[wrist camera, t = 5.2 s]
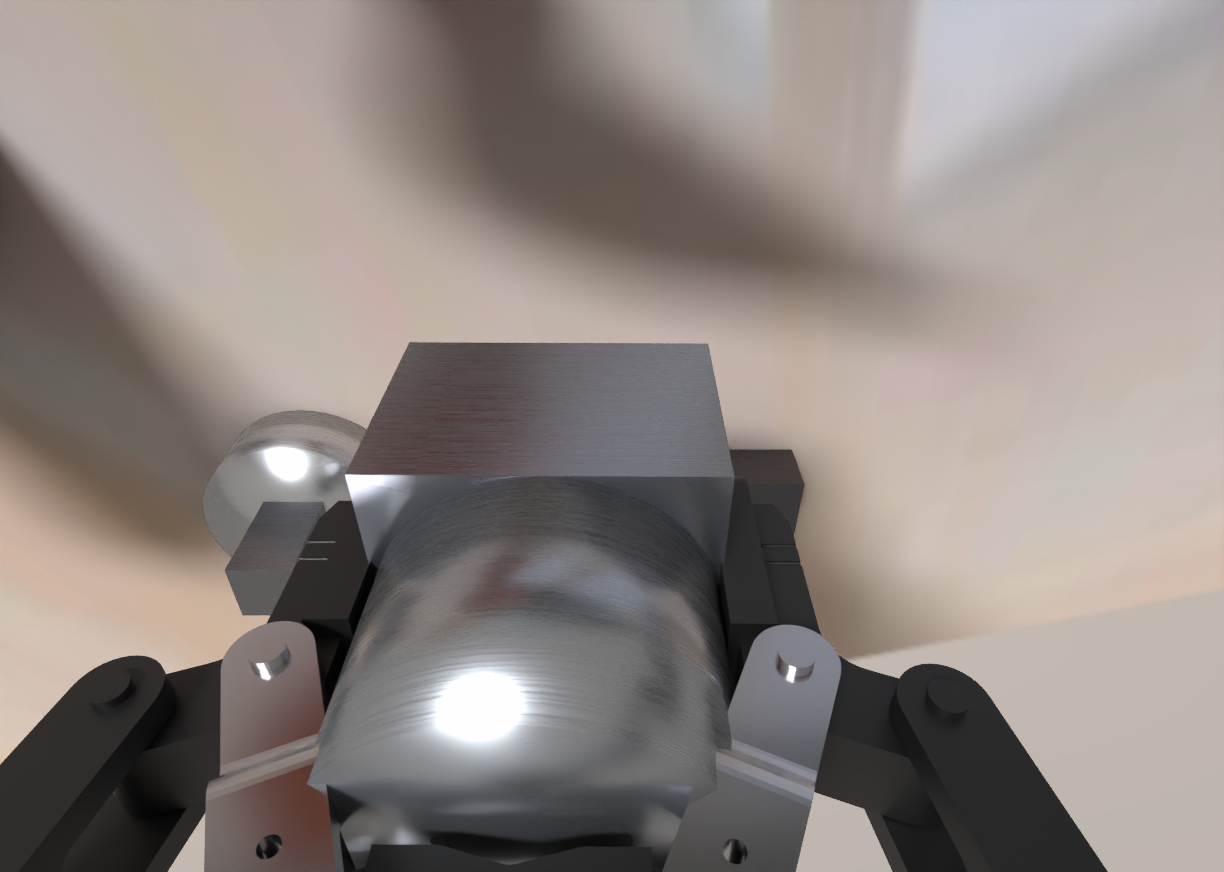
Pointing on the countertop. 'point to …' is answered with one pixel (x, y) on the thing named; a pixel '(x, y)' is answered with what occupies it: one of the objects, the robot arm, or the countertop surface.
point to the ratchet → (315, 480)
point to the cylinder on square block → (535, 602)
